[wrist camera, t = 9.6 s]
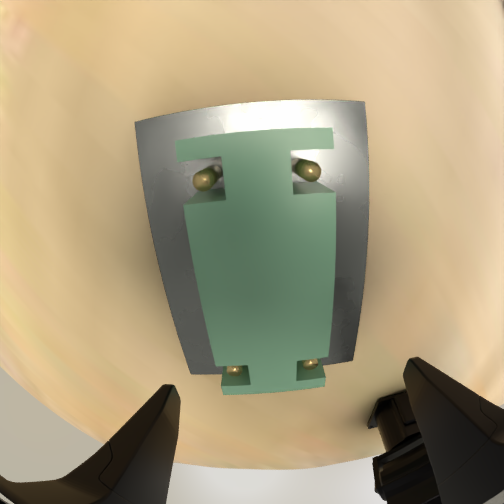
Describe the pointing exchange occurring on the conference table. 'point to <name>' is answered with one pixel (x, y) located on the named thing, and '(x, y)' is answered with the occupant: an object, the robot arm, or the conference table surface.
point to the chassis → (211, 177)
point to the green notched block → (264, 258)
